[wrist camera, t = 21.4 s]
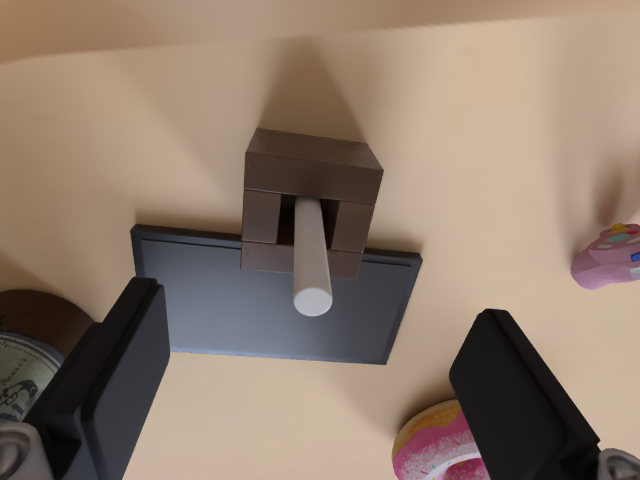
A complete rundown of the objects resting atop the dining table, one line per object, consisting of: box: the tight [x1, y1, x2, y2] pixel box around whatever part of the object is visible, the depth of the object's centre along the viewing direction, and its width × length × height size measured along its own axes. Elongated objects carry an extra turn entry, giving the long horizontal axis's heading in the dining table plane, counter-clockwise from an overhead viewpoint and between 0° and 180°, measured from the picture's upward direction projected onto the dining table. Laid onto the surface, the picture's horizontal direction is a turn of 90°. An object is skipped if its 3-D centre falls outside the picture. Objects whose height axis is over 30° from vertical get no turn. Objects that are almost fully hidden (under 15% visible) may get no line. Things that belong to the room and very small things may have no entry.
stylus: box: [293, 195, 332, 316], centre depth 18 cm, size 1×1×12 cm
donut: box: [392, 399, 491, 480], centre depth 35 cm, size 14×13×5 cm
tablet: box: [130, 224, 423, 365], centre depth 27 cm, size 11×20×1 cm, turn 81°
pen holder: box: [240, 128, 384, 280], centre depth 21 cm, size 7×7×5 cm
